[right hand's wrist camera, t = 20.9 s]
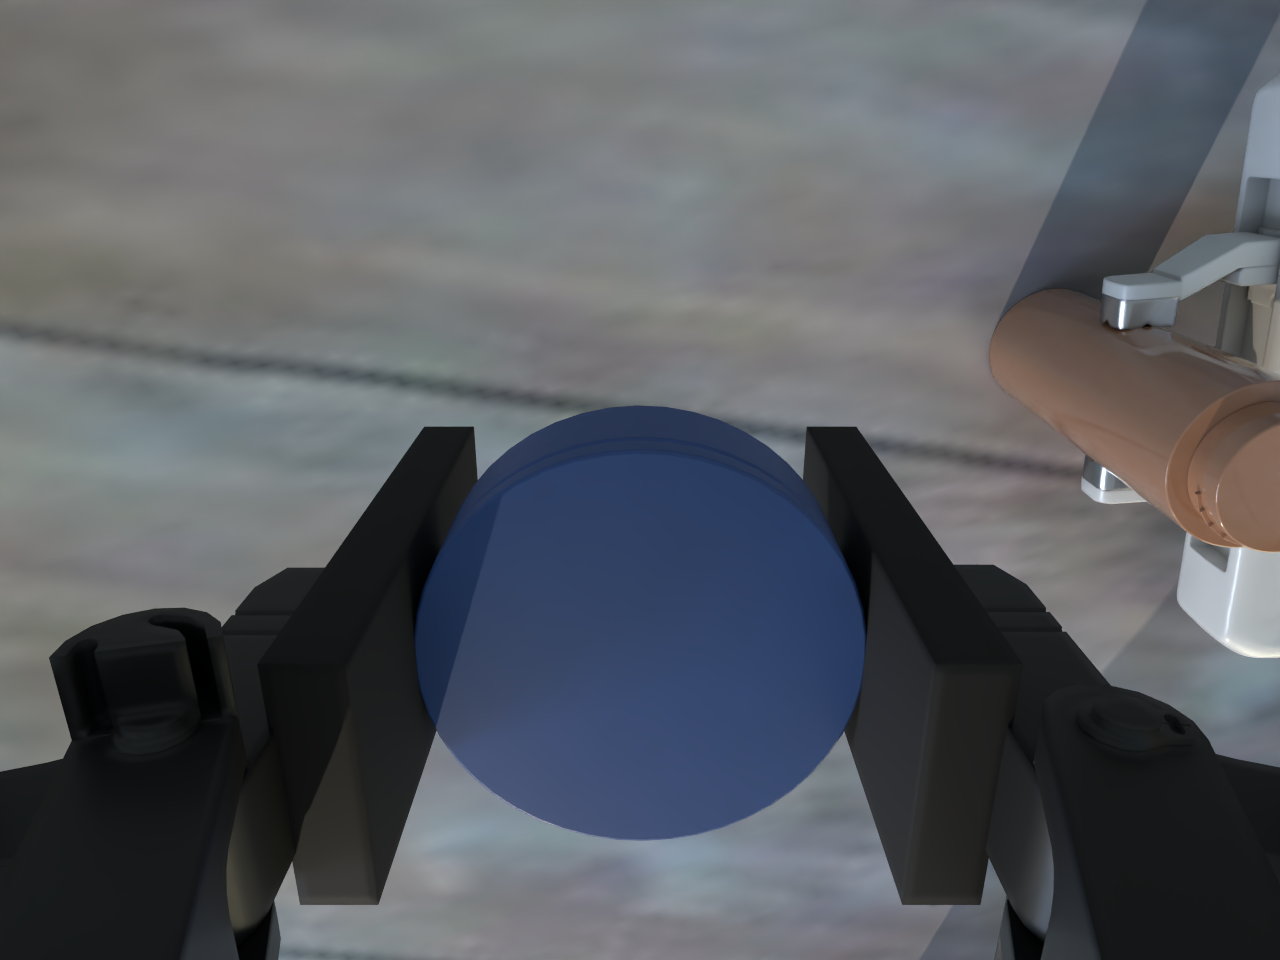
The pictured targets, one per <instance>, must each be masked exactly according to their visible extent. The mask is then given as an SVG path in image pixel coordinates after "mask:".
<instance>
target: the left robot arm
mask: <svg viewBox="0 0 1280 960" xmlns="http://www.w3.org/2000/svg"><path fill="white" fill-rule="evenodd" d="M1217 280H1220V281H1224V282H1225V288H1224V295H1223V301H1222V307H1221V314H1220V320H1219V327H1218V333H1217V339H1216V346H1215V347H1216V348H1218V349H1221V350H1223V351H1226V352H1228V353H1231V354H1233V355H1236V356H1238V357H1240V358H1243V359H1245V360H1248V361H1250V362H1253V363H1255V364H1258V365H1260V366H1263V367H1265V368H1268V369H1270V370H1273V371H1275V372H1278V373H1280V72H1279V73H1278V74H1277V75H1276V76H1274V77H1273V78H1272V79H1270V80H1269V81H1268V82H1267V83H1266V84H1265V85H1263V86H1262V87H1261V88H1260V89H1259V90H1258V92H1257V94H1256V96H1255V99H1254V103H1253V108H1252V114H1251V121H1250V128H1249V134H1248V140H1247V147H1246V153H1245V160H1244V166H1243V173H1242V179H1241V186H1240V192H1239V198H1238V205H1237V211H1236V218H1235V224H1234V230H1233V233H1222V234H1210V235H1204V236H1203V237H1201V238H1200V239H1198V240H1197V241H1195V242H1194V243H1192V244H1190V245H1189V246H1187V247H1186V248H1184V249H1183V250H1181V251H1180V252H1178V253H1177V254H1175V255H1174V256H1172V257H1170V258H1169V259H1167V260H1166V261H1164V262H1163V263H1161V264H1160V265H1158V266H1157V267H1155V268H1153V272H1152V273H1141V274H1128V275H1115V276H1108V277H1105V278H1104V280H1103V290H1102V299H1101V309H1100V318H1099V321H1100V322H1102V323H1109V325H1110V326H1111V327H1114V328H1118V329H1137V328H1142V327H1143V326H1145V325H1146V324H1147V325H1149V326H1152V327H1168V326H1174V325H1175V319H1176V313H1177V307H1178V301H1181V300H1183V299H1185V298H1187V297H1189V296H1190V295H1192V294H1194V293H1196V292H1197V291H1199V290H1201V289H1203V288H1205V287H1206V286H1208V285H1210V284H1212V283H1213V282H1215V281H1217ZM1081 489H1082V491H1084V492H1085V493H1086V494H1087V495H1088V496H1090V497H1091V498H1092V499H1093V500H1094V501H1097V502H1101V503H1107V504H1117V503H1131V502H1145V501H1146V500H1145V499H1143V498H1142V497H1141V496H1139V495H1138V494H1137V493H1136V492H1134V491H1133V490H1132V489H1130V488H1129V487H1128V486H1126V485H1125V484H1124V483H1123V482H1121V481H1120V480H1119V479H1117V478H1116V477H1115V476H1113V475H1112V474H1111V473H1110V472H1108V471H1107V470H1106V469H1104V468H1103V467H1102V466H1100V465H1099V464H1098V463H1097V462H1095V461H1094V460H1093V459H1091V458H1090V457H1089V456H1088V455H1086V454H1085V460H1084V468H1083V477H1082V484H1081ZM1148 503H1149V502H1148ZM1177 600H1178V603H1179V604H1180V606H1181V607H1182V609H1183V610H1184V611H1185V612H1186V613H1187V614H1188V615H1189V616H1190V617H1191V618H1192V619H1193V620H1194V621H1195V622H1196V623H1197V624H1198V625H1199V626H1200V627H1201V628H1202V629H1204V630H1205V631H1206V632H1207V633H1208V634H1210V635H1211V636H1212V637H1213V638H1215V639H1216V640H1217V641H1218V642H1220V643H1221V644H1223V645H1224V646H1226V647H1227V648H1229V649H1230V650H1232V651H1234V652H1236V653H1238V654H1241V655H1244V656H1247V657H1254V658H1280V552H1278V553H1269V552H1260V551H1255V550H1251V549H1248V548H1246V547H1243V548H1230V547H1221V546H1216V545H1211V544H1209V543H1206V542H1203V541H1201V540H1199V539H1197V538H1195V537H1193V536H1192V535H1190V534H1189V533H1188V532H1186V539H1185V545H1184V551H1183V558H1182V564H1181V571H1180V577H1179V582H1178V588H1177Z"/></svg>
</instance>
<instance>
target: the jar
mask: <svg viewBox="0 0 1280 960" xmlns="http://www.w3.org/2000/svg"><path fill="white" fill-rule="evenodd" d="M1100 309H1101V301H1100V300H1097V299H1095V298H1092V297H1090V296H1087V295H1085V294H1082V293H1080V292H1077V291H1074V290H1069V289H1060V288H1059V289H1048V290H1043V291H1040V292H1037V293H1034V294H1032V295H1030V296H1028V297H1026V298H1024V299H1022V300H1021V301H1019V302H1018V303H1017V304H1015V305H1014V306H1013V307H1012V308H1011V309H1010V310H1009V311H1008V312H1007V313H1006V314H1005V315H1004V317H1003V318H1002V319H1001V321H1000V322H999V324H998V326H997V328H996V330H995V332H994V334H993V337H992V340H991V345H990V352H989V359H990V366H991V371H992V373H993V376H994V378H995V380H996V382H997V383H998V385H999V386H1000V387H1001V388H1002V389H1003V390H1004V391H1005V392H1006V393H1007V394H1008V395H1010V396H1011V397H1012V398H1013V399H1015V400H1016V401H1017V402H1019V403H1020V404H1021V405H1023V406H1024V407H1025V408H1026V409H1028V410H1029V411H1030V412H1032V413H1033V414H1034V415H1036V416H1037V417H1038V418H1039V419H1041V420H1042V421H1043V422H1045V423H1046V424H1047V425H1049V426H1050V427H1051V428H1052V429H1054V430H1055V431H1056V432H1058V433H1059V434H1060V435H1062V436H1063V437H1064V438H1065V439H1067V440H1068V441H1069V442H1071V443H1072V444H1073V445H1075V446H1076V447H1077V448H1078V449H1080V450H1081V451H1082V452H1084V453H1085V454H1086V455H1088V456H1089V457H1090V458H1091V459H1093V460H1094V461H1095V462H1097V463H1098V464H1099V465H1100V466H1102V467H1103V468H1104V469H1106V470H1107V471H1108V472H1110V473H1111V474H1112V475H1113V476H1115V477H1116V478H1117V479H1119V480H1120V481H1121V482H1123V483H1124V484H1125V485H1126V486H1128V487H1129V488H1130V489H1132V490H1133V491H1134V492H1136V493H1137V494H1138V495H1139V496H1141V497H1142V498H1143V499H1145V500H1146V501H1147V502H1149V503H1150V504H1151V505H1152V506H1154V507H1155V508H1156V509H1158V510H1159V511H1160V512H1162V513H1163V514H1164V515H1165V516H1167V517H1168V518H1169V519H1171V520H1172V521H1173V522H1175V523H1176V524H1177V525H1178V526H1180V527H1181V528H1182V529H1184V530H1185V531H1186V532H1188V533H1189V534H1190V535H1192V536H1193V537H1195V538H1197V539H1199V540H1201V541H1203V542H1206V543H1209V544H1211V545H1216V546H1221V547H1230V548H1243V547H1246V548H1248V549H1251V550H1255V551H1260V552H1269V553H1278V552H1280V373H1278V372H1275V371H1273V370H1270V369H1268V368H1265V367H1263V366H1260V365H1258V364H1255V363H1253V362H1250V361H1248V360H1245V359H1243V358H1240V357H1238V356H1236V355H1233V354H1231V353H1228V352H1226V351H1223V350H1221V349H1218V348H1216V347H1213V346H1211V345H1208V344H1206V343H1203V342H1201V341H1198V340H1196V339H1193V338H1191V337H1189V336H1186V335H1184V334H1181V333H1179V332H1176V331H1174V330H1171V329H1169V328H1166V327H1152V326H1149V325H1147V324H1146V325H1145V326H1143V327H1142V328H1137V329H1118V328H1114V327H1111V326H1110V325H1109V323H1102V322H1100V321H1099V318H1100Z"/></svg>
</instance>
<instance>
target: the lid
mask: <svg viewBox="0 0 1280 960" xmlns="http://www.w3.org/2000/svg"><path fill="white" fill-rule="evenodd" d="M866 639H867V630H866V623H865V616H864V609H863V605H862V602H861V598H860V595H859V592H858V588H857V585H856V582H855V580H854V578H853V576H852V573H851V571H850V569H849V567H848V565H847V563H846V561H845V558H844V556H843V554H842V552H841V550H840V548H839V545H838V543H837V541H836V539H835V537H834V535H833V533H832V530H831V528H830V526H829V524H828V522H827V520H826V518H825V516H824V513H823V511H822V509H821V507H820V505H819V503H818V501H817V500H816V498H815V497H814V495H813V494H812V492H811V491H810V489H809V488H808V486H807V485H806V483H805V482H804V481H803V480H802V479H801V478H800V476H799V475H798V474H797V473H796V472H795V471H794V470H793V469H792V468H791V466H790V465H789V464H788V463H787V462H786V461H784V460H783V459H782V458H781V457H780V456H779V455H777V454H776V453H775V452H774V451H773V450H771V449H770V448H769V447H768V446H766V445H765V444H763V443H762V442H760V441H759V440H757V439H755V438H754V437H752V436H751V435H749V434H747V433H746V432H744V431H742V430H740V429H738V428H736V427H733V426H731V425H729V424H727V423H725V422H723V421H720V420H717V419H714V418H711V417H708V416H705V415H701V414H698V413H695V412H691V411H685V410H680V409H674V408H668V407H655V406H626V407H613V408H606V409H601V410H596V411H591V412H586V413H582V414H579V415H576V416H573V417H570V418H567V419H564V420H561V421H558V422H555V423H553V424H551V425H549V426H547V427H545V428H543V429H541V430H539V431H537V432H535V433H533V434H531V435H530V436H528V437H527V438H525V439H524V440H522V441H521V442H519V443H518V444H516V445H515V446H513V447H512V448H510V449H509V450H508V451H507V452H506V453H504V454H503V455H502V456H501V457H500V458H499V459H498V460H497V461H495V462H494V463H493V464H492V465H491V466H490V467H489V468H488V469H487V470H486V472H485V473H484V474H483V475H482V476H481V477H480V479H479V480H478V481H477V482H476V483H475V485H474V486H473V487H472V489H471V490H470V492H469V494H468V495H467V497H466V498H465V500H464V502H463V503H462V505H461V506H460V508H459V510H458V512H457V515H456V517H455V519H454V521H453V523H452V525H451V527H450V530H449V532H448V534H447V536H446V538H445V540H444V542H443V544H442V547H441V549H440V551H439V553H438V555H437V557H436V559H435V562H434V564H433V566H432V568H431V571H430V573H429V575H428V577H427V580H426V582H425V584H424V587H423V590H422V593H421V597H420V601H419V605H418V608H417V612H416V620H415V629H414V643H415V653H416V663H417V672H418V681H419V688H420V692H421V695H422V698H423V701H424V703H425V706H426V709H427V712H428V715H429V716H430V718H431V720H432V722H433V724H434V726H435V728H436V730H437V732H438V734H439V736H440V737H441V739H442V740H443V742H444V743H445V744H446V746H447V747H448V749H449V750H450V751H451V753H452V754H453V756H454V757H455V758H456V759H457V760H458V761H459V763H460V764H461V765H462V766H463V767H464V768H465V769H466V770H467V771H468V772H469V773H470V774H471V775H472V777H474V778H475V779H476V780H477V781H478V782H480V783H481V784H482V785H483V786H484V787H486V788H487V789H488V790H489V791H490V792H492V793H493V794H494V795H496V796H497V797H499V798H500V799H502V800H503V801H505V802H507V803H508V804H510V805H511V806H513V807H514V808H516V809H518V810H520V811H522V812H524V813H526V814H528V815H530V816H532V817H534V818H536V819H538V820H540V821H543V822H546V823H549V824H551V825H554V826H557V827H559V828H562V829H565V830H569V831H573V832H577V833H581V834H585V835H589V836H595V837H602V838H609V839H616V840H640V841H645V840H661V839H673V838H679V837H685V836H691V835H697V834H700V833H704V832H708V831H711V830H715V829H719V828H722V827H725V826H727V825H730V824H732V823H735V822H737V821H740V820H742V819H745V818H748V817H749V816H751V815H753V814H755V813H757V812H759V811H761V810H763V809H764V808H766V807H768V806H770V805H772V804H773V803H775V802H776V801H778V800H779V799H780V798H782V797H783V796H785V795H786V794H788V793H789V792H791V791H792V790H793V789H794V788H796V787H797V786H798V785H799V784H800V783H801V782H802V781H804V780H805V779H806V778H807V777H808V776H809V775H810V774H811V773H812V772H813V771H814V770H815V769H816V768H817V767H818V766H819V764H820V763H821V762H822V761H823V760H824V759H825V758H826V757H827V755H828V754H829V753H830V751H831V750H832V748H833V747H834V746H835V744H836V743H837V741H838V740H839V738H840V737H841V735H842V734H843V732H844V730H845V728H846V726H847V724H848V722H849V720H850V718H851V716H852V714H853V711H854V709H855V706H856V703H857V700H858V697H859V694H860V691H861V687H862V679H863V670H864V661H865V650H866Z"/></svg>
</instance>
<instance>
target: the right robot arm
mask: <svg viewBox="0 0 1280 960" xmlns="http://www.w3.org/2000/svg"><path fill="white" fill-rule="evenodd" d="M477 481H478V479H477V465H476V451H475V437H474V427H424V428H423V429H422V431H421V432H420V434H419V435H418V436H417V438H416V439H415V441H414V442H413V444H412V445H411V446H410V448H409V449H408V451H407V452H406V454H405V455H404V456H403V458H402V459H401V461H400V462H399V464H398V465H397V466H396V468H395V469H394V471H393V472H392V473H391V475H390V476H389V478H388V479H387V481H386V482H385V483H384V485H383V486H382V488H381V489H380V491H379V492H378V493H377V495H376V496H375V498H374V499H373V500H372V502H371V503H370V505H369V506H368V508H367V509H366V510H365V512H364V513H363V515H362V516H361V518H360V519H359V520H358V522H357V523H356V525H355V526H354V527H353V529H352V530H351V532H350V533H349V535H348V536H347V537H346V539H345V540H344V542H343V543H342V545H341V546H340V547H339V549H338V550H337V552H336V553H335V554H334V556H333V557H332V559H331V560H330V562H329V563H328V564H327V566H326V567H325V568H286V569H285V570H283V571H281V572H280V573H278V574H276V575H275V576H273V577H271V578H270V579H268V580H266V581H265V582H263V583H261V584H260V585H258V586H256V587H255V588H254V589H253V590H252V591H251V593H250V594H249V595H248V596H247V597H246V599H245V600H244V601H243V602H242V603H241V605H240V606H239V607H238V608H237V609H236V611H235V612H236V613H235V615H232V616H231V617H230V618H229V619H228V620H227V622H226V623H225V624H224V625H223V626H222V627H221V622H220V621H218V620H217V619H216V618H214V617H213V616H211V615H210V614H209V613H207V612H203V611H198V610H193V609H188V608H160V609H151V610H146V611H140V612H135V613H130V614H125V615H121V616H118V617H116V618H113V619H110V620H107V621H104V622H102V623H99V624H96V625H93V626H91V627H89V628H87V629H86V630H84V631H82V632H80V633H79V634H77V635H75V636H73V637H72V638H70V639H68V640H66V641H65V642H64V643H63V644H62V645H61V646H60V647H59V648H58V649H57V650H56V651H55V652H54V653H53V654H52V655H51V656H50V657H49V659H50V663H51V666H52V670H53V674H54V677H55V681H56V685H57V688H58V692H59V695H60V699H61V703H62V706H63V710H64V714H65V717H66V721H67V724H68V728H69V732H70V735H71V739H72V742H71V744H70V746H69V748H68V750H67V752H66V754H65V756H64V758H63V759H60V760H56V761H52V762H48V763H43V764H38V765H33V766H28V767H22V768H17V769H12V770H7V771H2V772H0V960H278V957H279V948H280V940H281V937H280V931H279V924H278V918H277V912H276V907H275V902H274V899H275V897H276V895H277V892H278V890H279V888H280V886H281V884H282V882H283V880H284V877H285V875H286V873H287V871H288V869H289V867H290V865H291V863H292V861H293V867H294V873H295V878H296V884H297V889H298V895H299V900H300V905H378V904H379V901H380V898H381V895H382V892H383V889H384V886H385V883H386V880H387V877H388V874H389V871H390V868H391V865H392V862H393V859H394V856H395V853H396V850H397V847H398V844H399V841H400V838H401V835H402V832H403V829H404V826H405V823H406V820H407V817H408V814H409V811H410V808H411V805H412V802H413V799H414V796H415V793H416V790H417V787H418V784H419V781H420V778H421V775H422V772H423V769H424V766H425V763H426V760H427V757H428V754H429V751H430V748H431V745H432V742H433V739H434V736H435V733H436V728H435V726H434V724H433V722H432V720H431V718H430V716H429V715H428V712H427V709H426V706H425V703H424V701H423V698H422V695H421V692H420V688H419V681H418V672H417V663H416V653H415V643H414V629H415V620H416V612H417V608H418V605H419V601H420V597H421V593H422V590H423V587H424V584H425V582H426V580H427V577H428V575H429V573H430V571H431V568H432V566H433V564H434V562H435V559H436V557H437V555H438V553H439V551H440V549H441V547H442V544H443V542H444V540H445V538H446V536H447V534H448V532H449V530H450V527H451V525H452V523H453V521H454V519H455V517H456V515H457V512H458V510H459V508H460V506H461V505H462V503H463V502H464V500H465V498H466V497H467V495H468V494H469V492H470V490H471V489H472V487H473V486H474V485H475V483H476V482H477ZM803 481H804V482H805V483H806V485H807V486H808V488H809V489H810V491H811V492H812V494H813V495H814V497H815V498H816V500H817V501H818V503H819V505H820V507H821V509H822V511H823V513H824V516H825V518H826V520H827V522H828V524H829V526H830V528H831V530H832V533H833V535H834V537H835V539H836V541H837V543H838V545H839V548H840V550H841V552H842V554H843V556H844V558H845V561H846V563H847V565H848V567H849V569H850V571H851V573H852V576H853V578H854V580H855V582H856V585H857V588H858V592H859V595H860V598H861V602H862V605H863V609H864V616H865V623H866V630H867V639H866V650H865V661H864V670H863V679H862V687H861V691H860V694H859V697H858V700H857V703H856V706H855V709H854V711H853V714H852V716H851V718H850V720H849V722H848V724H847V726H846V728H845V730H844V731H845V734H846V737H847V740H848V743H849V746H850V749H851V752H852V755H853V758H854V761H855V764H856V767H857V770H858V773H859V776H860V779H861V782H862V785H863V788H864V791H865V794H866V797H867V800H868V803H869V806H870V809H871V812H872V815H873V818H874V821H875V824H876V827H877V830H878V833H879V836H880V839H881V842H882V845H883V848H884V851H885V854H886V857H887V860H888V863H889V866H890V869H891V872H892V875H893V878H894V881H895V884H896V887H897V890H898V893H899V896H900V899H901V902H902V905H980V904H981V898H982V893H983V887H984V882H985V876H986V870H987V865H988V859H990V861H991V863H992V865H993V867H994V869H995V871H996V874H997V876H998V878H999V880H1000V882H1001V884H1002V886H1003V888H1004V891H1005V893H1006V895H1007V897H1006V902H1005V907H1004V912H1003V918H1002V923H1001V928H1000V933H999V938H998V944H997V949H996V954H995V959H994V960H1280V768H1279V767H1274V766H1269V765H1264V764H1259V763H1254V762H1248V761H1243V760H1238V759H1233V758H1229V757H1226V756H1222V755H1218V754H1215V752H1214V750H1213V748H1212V746H1211V744H1210V742H1209V740H1208V739H1207V737H1206V736H1205V735H1204V734H1203V733H1202V731H1201V730H1200V729H1199V728H1198V726H1197V725H1196V724H1195V723H1194V722H1193V721H1192V720H1191V719H1189V718H1188V717H1186V716H1185V715H1183V714H1182V713H1180V712H1179V711H1177V710H1176V709H1174V708H1173V707H1171V706H1170V705H1168V704H1166V703H1164V702H1161V701H1159V700H1156V699H1154V698H1152V697H1149V696H1147V695H1144V694H1142V693H1140V692H1136V691H1131V690H1127V689H1123V688H1118V687H1114V686H1111V685H1110V684H1109V683H1108V682H1107V681H1106V679H1105V678H1104V677H1103V676H1102V675H1101V673H1100V672H1099V671H1098V670H1097V669H1096V667H1095V666H1094V665H1093V664H1092V663H1091V661H1090V660H1089V659H1088V658H1087V657H1086V655H1085V654H1084V653H1083V652H1082V651H1081V649H1080V648H1079V647H1078V646H1077V644H1076V643H1075V642H1074V641H1073V640H1072V638H1071V637H1070V636H1069V635H1068V634H1067V632H1062V626H1061V625H1060V624H1059V623H1058V622H1057V620H1056V619H1055V618H1054V617H1053V616H1052V614H1051V613H1050V612H1046V607H1045V606H1044V605H1043V604H1042V602H1041V601H1040V600H1039V599H1038V598H1037V596H1036V595H1035V594H1034V593H1033V592H1032V590H1031V589H1030V588H1029V587H1028V586H1027V584H1025V583H1023V582H1022V581H1020V580H1018V579H1016V578H1015V577H1013V576H1011V575H1010V574H1008V573H1006V572H1005V571H1003V570H1001V569H1000V568H998V567H996V566H995V565H953V563H952V562H951V561H950V559H949V558H948V556H947V555H946V554H945V552H944V551H943V549H942V548H941V546H940V545H939V544H938V542H937V541H936V539H935V538H934V536H933V535H932V534H931V532H930V531H929V529H928V528H927V527H926V525H925V524H924V522H923V521H922V519H921V518H920V517H919V515H918V514H917V512H916V511H915V510H914V508H913V507H912V505H911V504H910V502H909V501H908V500H907V498H906V497H905V495H904V494H903V492H902V491H901V490H900V488H899V487H898V485H897V484H896V483H895V481H894V480H893V478H892V477H891V475H890V474H889V473H888V471H887V470H886V468H885V467H884V465H883V464H882V463H881V461H880V460H879V458H878V457H877V456H876V454H875V453H874V451H873V450H872V448H871V447H870V446H869V444H868V443H867V441H866V440H865V438H864V437H863V436H862V434H861V433H860V431H859V430H858V429H857V427H807V431H806V445H805V459H804V474H803Z"/></svg>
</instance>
